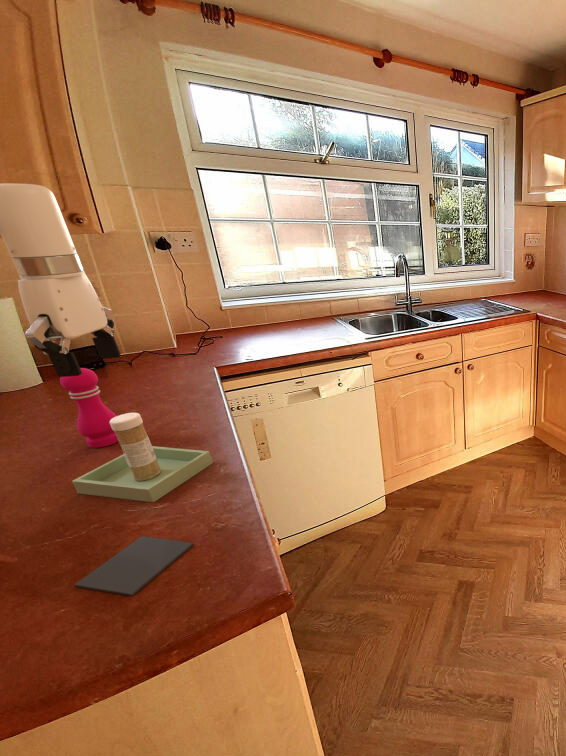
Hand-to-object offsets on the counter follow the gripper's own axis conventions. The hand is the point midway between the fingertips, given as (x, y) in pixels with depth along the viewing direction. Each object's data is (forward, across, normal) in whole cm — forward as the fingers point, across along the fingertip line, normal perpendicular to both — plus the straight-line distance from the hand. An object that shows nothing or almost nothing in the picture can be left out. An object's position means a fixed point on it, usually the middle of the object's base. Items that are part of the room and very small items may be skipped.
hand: (92, 366), depth 75 cm
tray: (+25, -2, 0) cm, 25 cm away
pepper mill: (+25, -21, -19) cm, 38 cm away
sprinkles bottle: (+25, -2, 0) cm, 25 cm away
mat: (+25, +24, +13) cm, 37 cm away
